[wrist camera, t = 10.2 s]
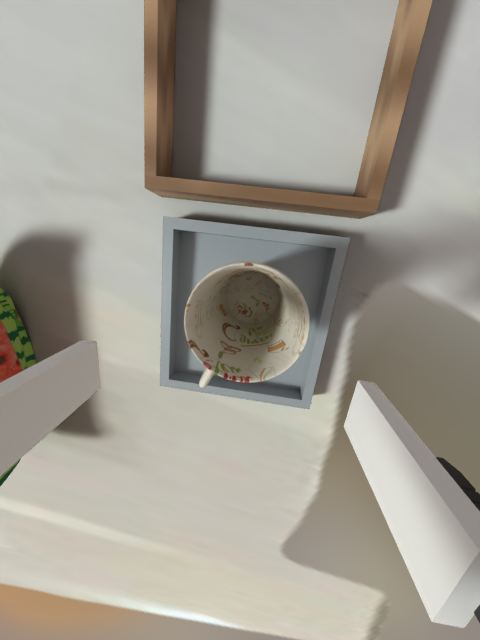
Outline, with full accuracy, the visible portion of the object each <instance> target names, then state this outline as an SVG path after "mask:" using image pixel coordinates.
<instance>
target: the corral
mask: <svg viewBox="0 0 480 640" xmlns="http://www.w3.org/2000/svg"><path fill="white" fill-rule="evenodd" d="M432 1H433V0H400V1H399V5H398V9H397V14H396V18H395V22H394V27H393V31H392V35H391V39H390V44H389V48H388V52H387V57H386V61H385V65H384V70H383V74H382V78H381V82H380V87H379V91H378V95H377V100H376V104H375V108H374V113H373V117H372V121H371V125H370V130H369V134H368V138H367V143H366V147H365V151H364V156H363V160H362V164H361V168H360V173H359V177H358V181H357V186H356V190H355V194H354V197H352V196H342V195H333V194H323V193H314V192H304V191H295V190H285V189H276V188H266V187H257V186H247V185H238V184H228V183H219V182H210V181H200V180H191V179H181V178H172V152H173V115H174V78H175V41H176V4H177V0H144V114H145V188H146V189H148V190H150V191H152V192H154V193H155V194H157V195H159V196H161V197H168V198H177V199H186V200H195V201H204V202H213V203H222V204H231V205H240V206H249V207H258V208H267V209H276V210H285V211H294V212H303V213H312V214H322V215H331V216H340V217H349V218H358V219H360V218H363V217H366V216H369V215H372V214H375V213H377V210H378V206H379V202H380V199H381V195H382V191H383V187H384V183H385V180H386V176H387V172H388V168H389V164H390V161H391V157H392V153H393V149H394V145H395V142H396V138H397V134H398V130H399V126H400V123H401V119H402V115H403V111H404V107H405V104H406V100H407V96H408V92H409V88H410V85H411V81H412V77H413V73H414V69H415V66H416V62H417V58H418V54H419V50H420V47H421V43H422V39H423V35H424V31H425V28H426V24H427V20H428V16H429V12H430V9H431V5H432Z"/></svg>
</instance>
